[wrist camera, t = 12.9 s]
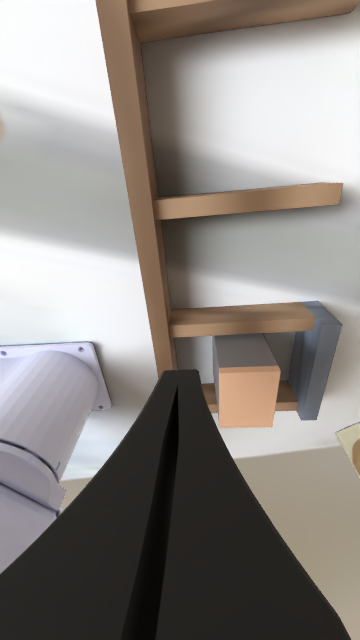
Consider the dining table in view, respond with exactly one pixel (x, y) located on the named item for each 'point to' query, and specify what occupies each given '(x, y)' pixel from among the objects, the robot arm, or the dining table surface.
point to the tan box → (245, 380)
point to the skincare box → (351, 444)
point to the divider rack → (148, 210)
